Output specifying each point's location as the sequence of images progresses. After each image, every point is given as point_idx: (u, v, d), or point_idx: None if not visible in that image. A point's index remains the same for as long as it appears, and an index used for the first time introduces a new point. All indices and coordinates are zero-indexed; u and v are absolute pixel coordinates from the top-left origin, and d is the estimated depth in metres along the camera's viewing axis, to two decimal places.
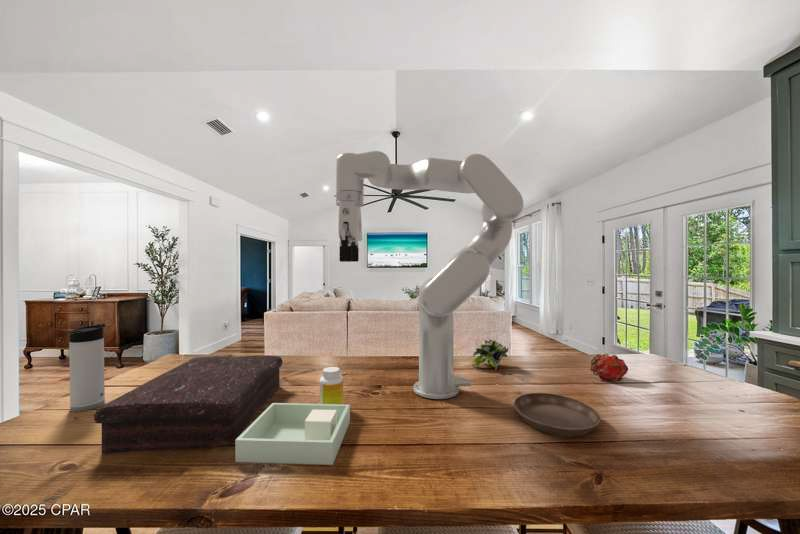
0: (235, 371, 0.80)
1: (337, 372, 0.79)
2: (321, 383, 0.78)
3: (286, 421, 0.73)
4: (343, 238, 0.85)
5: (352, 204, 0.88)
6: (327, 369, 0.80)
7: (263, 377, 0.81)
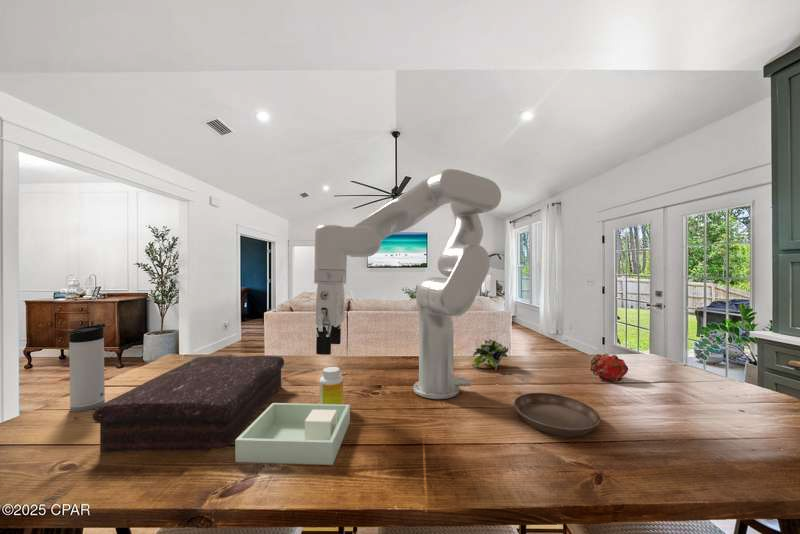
0: (235, 371, 0.80)
1: (337, 372, 0.79)
2: (321, 383, 0.78)
3: (286, 421, 0.73)
4: (320, 330, 0.72)
5: (332, 287, 0.75)
6: (327, 369, 0.80)
7: (262, 378, 0.81)
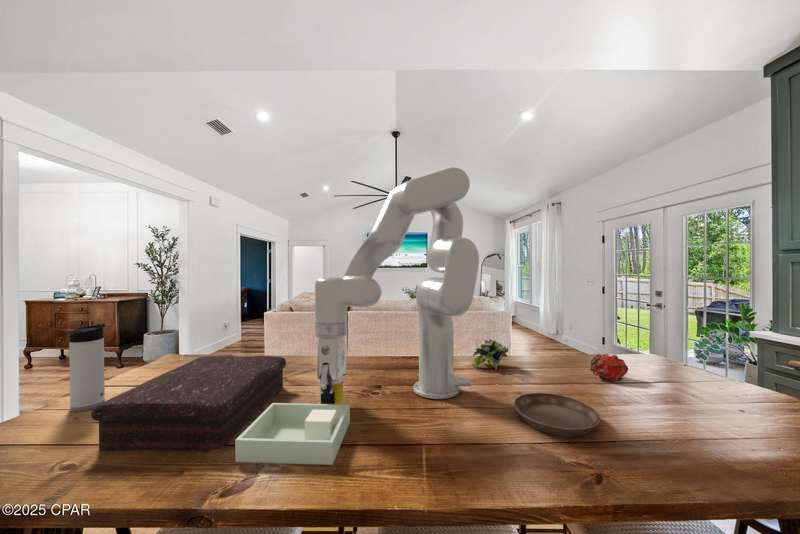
0: (234, 372, 0.80)
1: None
2: None
3: (286, 421, 0.73)
4: (324, 388, 0.74)
5: (333, 341, 0.75)
6: None
7: (262, 379, 0.80)
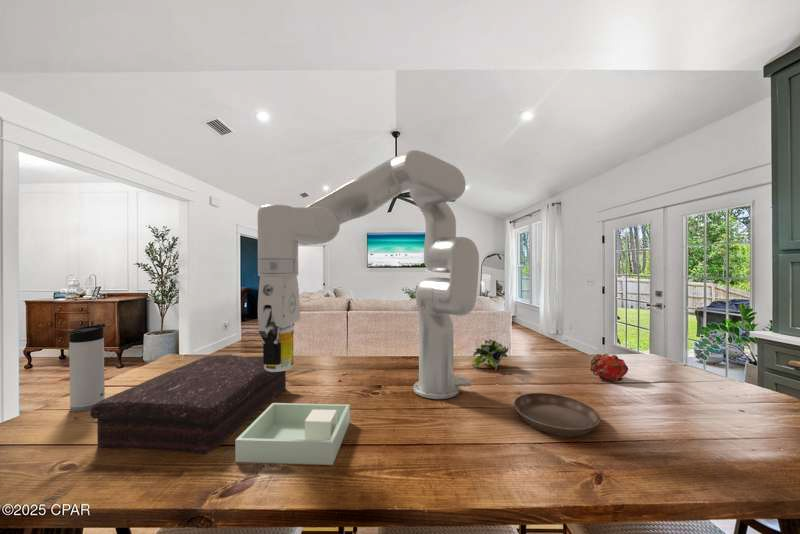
0: (233, 372, 0.79)
1: None
2: None
3: (286, 421, 0.73)
4: (265, 336, 0.60)
5: (277, 279, 0.61)
6: None
7: (260, 380, 0.79)
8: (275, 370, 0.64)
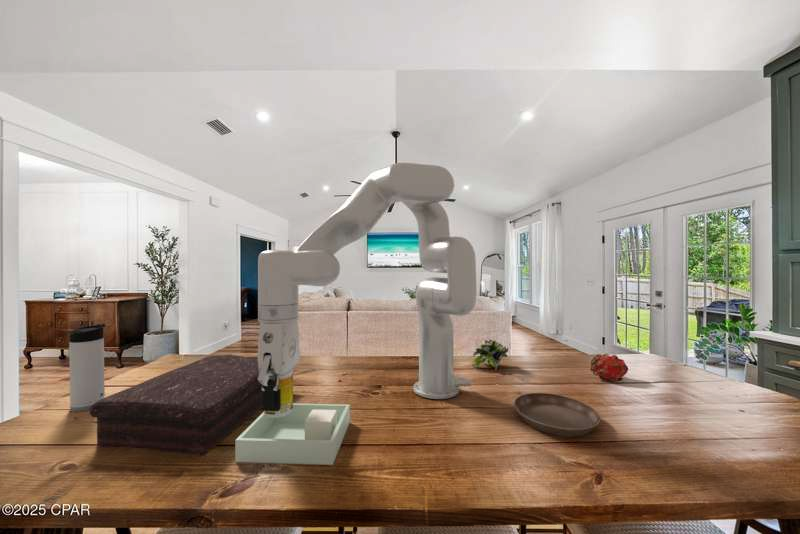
0: (233, 373, 0.79)
1: None
2: None
3: (286, 421, 0.73)
4: (265, 384, 0.60)
5: (277, 327, 0.62)
6: None
7: None
8: (274, 416, 0.64)
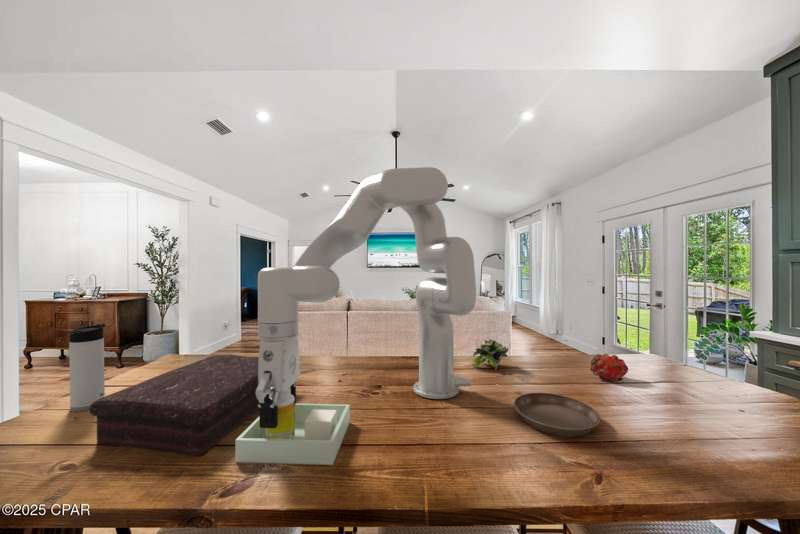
0: (232, 373, 0.79)
1: (286, 392, 0.66)
2: None
3: None
4: (261, 402, 0.59)
5: (277, 345, 0.62)
6: None
7: None
8: None
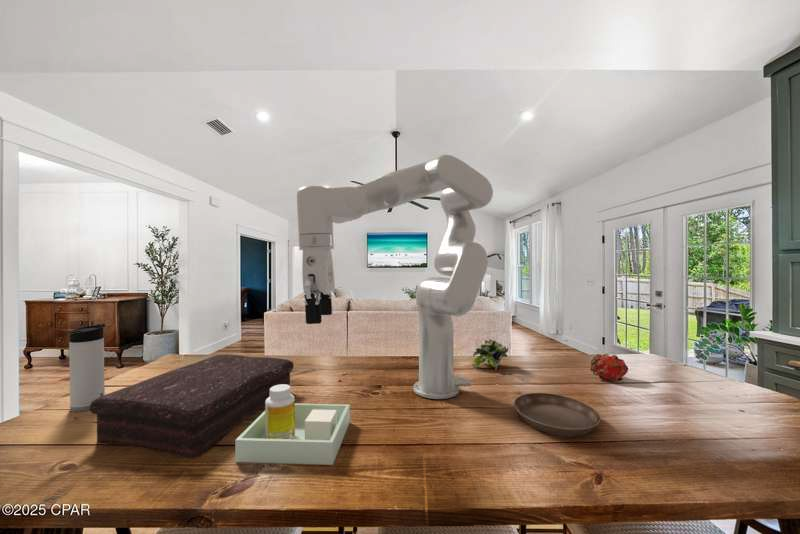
0: (231, 373, 0.79)
1: (286, 391, 0.66)
2: (266, 405, 0.65)
3: None
4: (308, 297, 0.67)
5: (318, 251, 0.70)
6: (275, 388, 0.66)
7: (257, 383, 0.78)
8: None
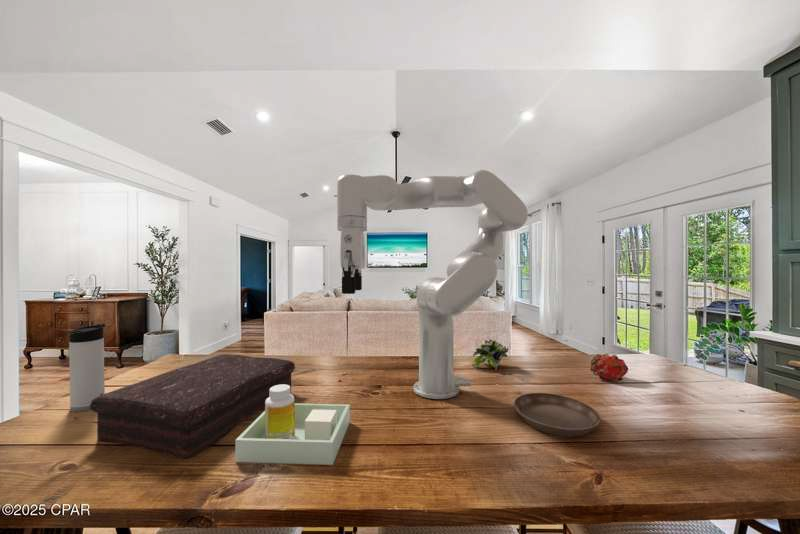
0: (231, 374, 0.78)
1: (286, 392, 0.66)
2: (266, 405, 0.65)
3: None
4: (346, 269, 0.78)
5: (355, 231, 0.81)
6: (275, 388, 0.66)
7: (255, 384, 0.77)
8: None
